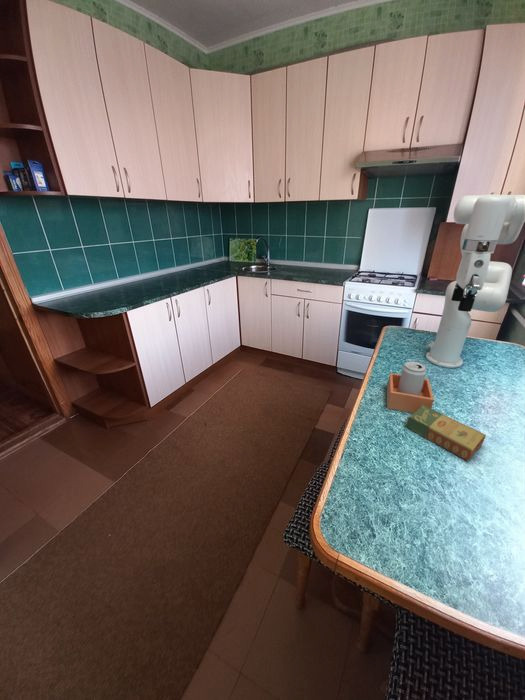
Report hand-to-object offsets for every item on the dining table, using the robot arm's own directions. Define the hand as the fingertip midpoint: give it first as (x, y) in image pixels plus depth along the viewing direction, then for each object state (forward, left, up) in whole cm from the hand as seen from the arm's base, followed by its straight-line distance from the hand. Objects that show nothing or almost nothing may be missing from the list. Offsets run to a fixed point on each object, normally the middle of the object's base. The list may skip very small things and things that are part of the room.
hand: (460, 305), depth 88 cm
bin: (+7, -16, -28) cm, 33 cm away
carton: (+23, -16, -28) cm, 40 cm away
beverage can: (+7, -16, -28) cm, 33 cm away
